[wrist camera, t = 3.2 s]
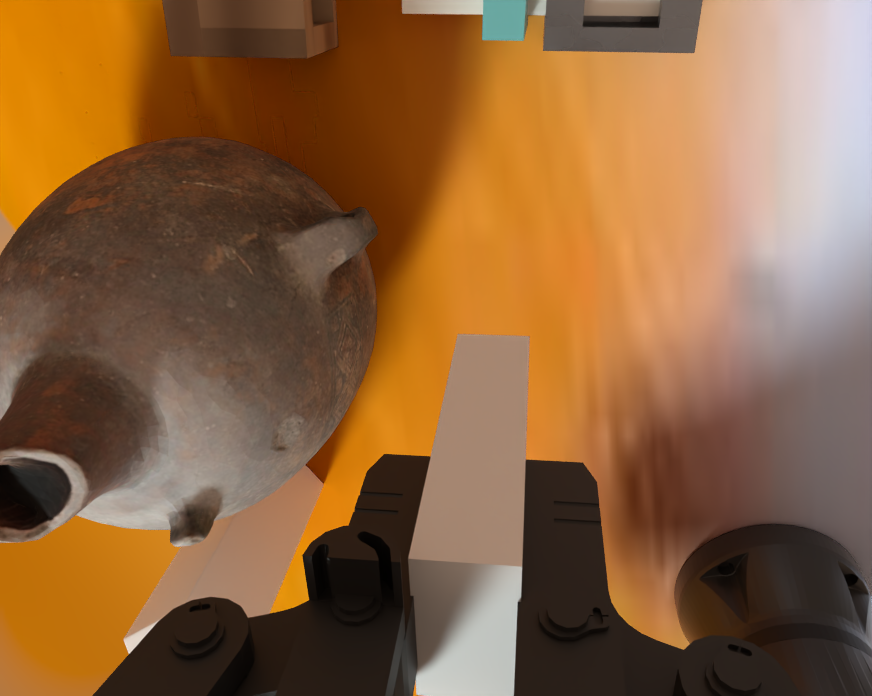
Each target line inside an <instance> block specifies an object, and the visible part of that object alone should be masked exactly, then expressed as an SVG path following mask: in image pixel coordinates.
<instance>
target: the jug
mask: <svg viewBox="0 0 872 696" xmlns="http://www.w3.org/2000/svg"><path fill="white" fill-rule="evenodd" d="M377 234H378V231H377V226H376V224H375V223H374V221H373V219H372V217H371V216H370V214H369V212H368V211H367V210H366V208H362V207H358V208H356V209H354V210H352V211H350V212H343V210H342V209H341V208H340V207H339V206H338V204H337V203H336V202H335V201H334V200H333V199H332V198H331V196H330V195H329V194H328V193H327V192H326V191H325V190H324V189H323V188H322V187H321V186H319V185H318V184H317V183H316V182H315V181H314V180H313V179H312V178H310V177H309V176H307V175H306V174H304V173H303V172H302V171H300V170H299V169H297V168H296V167H294V166H293V165H291V164H289V163H288V162H286V161H284V160H282V159H280V158H278V157H276V156H273V155H271V154H269V153H267V152H265V151H262V150H260V149H257V148H255V147H252V146H249V145H247V144H244V143H240V142H237V141H232V140H225V139H219V138H211V137H181V138H171V139H164V140H159V141H155V142H150V143H146V144H142V145H139V146H135V147H131V148H128V149H126V150H123V151H120V152H118V153H115V154H113V155H111V156H108V157H106V158H104V159H102V160H101V161H99V162H97V163H95V164H93V165H91V166H89V167H88V168H86V169H85V170H83V171H81V172H80V173H78V174H76V175H75V176H73V177H72V178H70V179H69V180H67V181H66V182H64V183H63V184H62V185H61V186H60V187H58V188H57V189H56V190H55V191H54V192H53V193H51V194H50V195H49V196H48V197H47V198H46V199H45V200H44V201H43V202H42V203H40V204H39V205H38V206H37V207H36V208H35V209H34V210H33V212H32V213H31V214H30V215H29V216H28V217H27V219H26V220H25V221H24V222H23V223H22V225H21V226H20V227H19V228H18V229H17V231H16V232H15V234H14V235H13V237H12V238H11V240H10V241H9V243H8V244H7V245H6V247H5V248H4V250H3V251H2V253H1V255H0V543H6V542H25V541H32V540H38V539H40V538H42V537H43V536H45V535H47V534H48V533H50V532H51V531H53V530H54V529H56V528H57V527H59V526H61V525H62V524H64V523H66V522H67V521H68V520H70V519H71V518H72V517H74V516H75V515H78V516H80V517H83V518H86V519H89V520H93V521H96V522H99V523H103V524H108V525H113V526H118V527H123V528H134V529H148V530H169V529H171V531H170V532H171V533H170V542H171V543H172V544H173V545H174V546H176V547H181V546H191V545H194V544H197V543H200V542H202V541H203V540H204V539H205V538H206V537H207V536H208V534H209V532H210V530H211V528H212V526H213V523H214V521H216V520H219V519H222V518H225V517H228V516H231V515H233V514H235V513H237V512H239V511H242V510H244V509H246V508H248V507H250V506H252V505H254V504H256V503H258V502H259V501H261V500H262V499H264V498H266V497H267V496H269V495H271V494H272V493H274V492H275V491H276V490H278V489H279V488H280V487H281V486H282V485H284V484H285V483H286V482H287V481H288V480H290V479H291V478H292V477H293V476H294V475H295V474H296V473H297V472H298V471H299V470H300V469H301V468H302V467H303V466H304V465H305V464H306V463H307V462H308V461H309V460H310V459H311V458H312V457H313V456H314V455H315V454H316V453H317V452H318V451H319V449H320V448H321V447H322V446H323V445H324V444H325V442H326V441H327V440H328V439H329V437H330V436H331V435H332V433H333V432H334V430H335V429H336V427H337V426H338V424H339V423H340V421H341V420H342V418H343V416H344V415H345V413H346V411H347V410H348V408H349V406H350V404H351V402H352V400H353V399H354V397H355V395H356V393H357V391H358V389H359V387H360V384H361V382H362V380H363V377H364V375H365V372H366V370H367V367H368V364H369V360H370V357H371V353H372V349H373V345H374V338H375V332H376V321H377V300H376V285H375V280H374V275H373V272H372V268H371V264H370V261H369V257H368V255H367V252H366V250H365V248H366V247H367V245H368V244H369V242H370V241H371V240H373V239H374V238H375V237H376V236H377Z"/></svg>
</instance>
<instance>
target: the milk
mask: <svg viewBox="0 0 872 696" xmlns="http://www.w3.org/2000/svg"><path fill="white" fill-rule="evenodd" d="M322 488H323V483H322V482H321V481H320V480H319V479H318V478H317V477H316V475H315V474H314V473H313V472H312V471H311V470H310V469H309V468H308V467H307V466H306V465H304V466H303V467H302V468H301V469H300V470H299V471H298V472H297V473H296V474H295V475H294V476H293V477H292V478H291V479H290V480H288V481H287V482H286V483H285V484H284V485H282V486H281V487H280V488H279V489H278V490H276V491H275V492H274V493H272V494H271V495H269V496H267V497H266V498H264V499H262V500H261V501H259V502H258V503H256V504H254V505H252V506H250V507H248V508H246V509H244V510H242V511H239V512H237V513H235V514H233V515H231V516H228V517H225V518H222V519H219V520H216V521H214V523H213V526H212V528H211V530H210V532H209V534H208V536H207V537H206V538H205V539H204V540H203V541H202V542H200V543H197V544H194V545H191V546H181V548H180V549H179V551H178V553H177V554H176V556H175V558H174V559H173V561H172V562H171V564H170V565H169V567H168V569H167V570H166V572H165V574H164V576H163V577H162V578H161V580H160V582H159V583H158V585H157V587H156V588H155V590H154V591H153V593H152V595H151V596H150V598H149V599H148V601H147V603H146V604H145V606H144V607H143V609H142V611H141V612H140V614H139V615H138V617H137V618H136V620H135V622H134V623H133V625H132V626H131V628H130V630H129V631H128V633H127V634H126V636H125V638H124V642H125V645H126V648H127V650H128V653H129V654H130V653H131V652H132V650H133V649H134V648H135V647H136V646H137V645H138V644H139V643H140V641H141V640H142V639H143V638H144V637H145V636H146V635H147V633H148V632H149V631H150V630H151V629H152V628H153V627H154V626H155V624H156V623H157V622H158V621H159V620H161V619H162V618H163V617H164V616H165V615H166V614H168V613H169V612H170V611H171V610H172V609H174V608H176V607H178V606H180V605H182V604H184V603H187V602H189V601H191V600H195V599H201V598H206V597H218V598H227V599H229V600H231V601H233V602H235V603H237V604H238V605H240V606H241V607H242V608H243V610H244V612H245V613H246V615H247V617H248V618H249V617H255V616H260V615H265V614H269V613H270V610H271V608H272V606H273V603H274V601H275V598H276V596H277V594H278V591H279V589H280V587H281V584H282V582H283V580H284V577H285V575H286V573H287V570H288V568H289V565H290V563H291V561H292V558H293V556H294V554H295V551H296V549H297V547H298V544H299V542H300V539H301V537H302V535H303V532H304V530H305V528H306V525H307V523H308V521H309V518H310V516H311V514H312V511H313V509H314V506H315V504H316V502H317V499H318V497H319V495H320V492H321V490H322Z"/></svg>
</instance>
